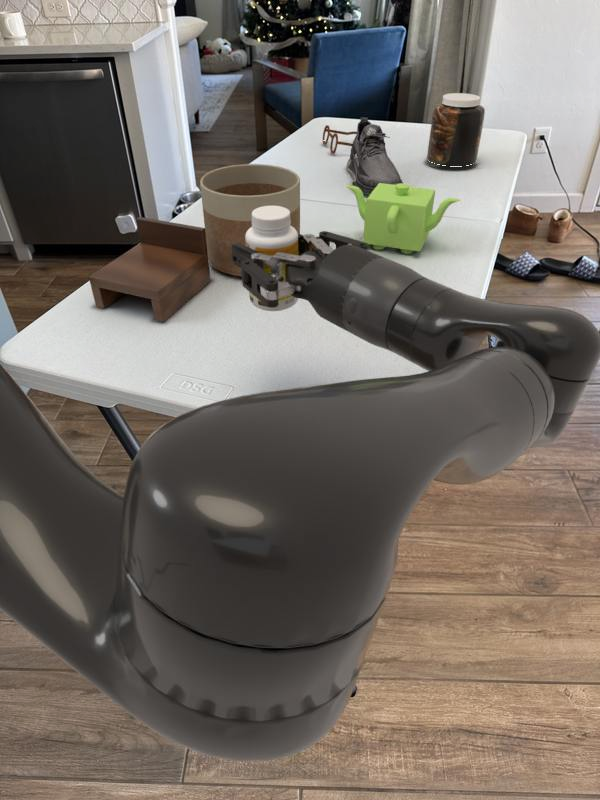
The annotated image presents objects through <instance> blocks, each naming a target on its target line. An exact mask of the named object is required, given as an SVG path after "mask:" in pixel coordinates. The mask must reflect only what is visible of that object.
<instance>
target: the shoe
mask: <svg viewBox="0 0 600 800" xmlns="http://www.w3.org/2000/svg"><path fill="white" fill-rule="evenodd" d="M356 132H357V134H355V137H354V139H353V141H352V144H353V145H352V146H351V148H350V155H349V159H348V161H347V163H346V169H347V170H348V172H349V173H350V174H351V176H352V186H356V187H358V188H360V189H361V191H362V192H363V195H370V194H371V193H372V191H373V190H374V189H375V188H376V186H377V185H378V184H379V183H384V184H392V185H396V184H399V183H404V182H403V180H402V178H401V176H400V175H401V174H400V173H399V171H398V170H397V168H396V166H395V165H394V162H393V161H392V159H390V157H389V156H388V153H387V149H386V141H385V138H388V139H390V138H391V137H390V136H387V133H385V132H383V129H382V127H381V126H380V125H378V124H374V123H372V122H371V121H369V117H360V120H359V122H358V123H357V128H356Z"/></svg>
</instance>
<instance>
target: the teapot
mask: <svg viewBox="0 0 600 800" xmlns="http://www.w3.org/2000/svg"><path fill="white" fill-rule="evenodd" d="M345 187H346V188H347V189H349V190H350V191H352V194H354V196H355V199H356V204H357V208H358V213H359V216H360V217H361V219H362V220H363V221H364V222H363V223H364V224H363V234H362V235H363V237H362V242H365V243H367V244H368V245H372V248H373V249H374V250H379V251H380V250H385V248H393V249H400V253H402V254H405V255H410V254H412V253H413V252H421V251H422V248H423V246H424V245H425V242H426V240H427V238H428V236H429V235H430V232H431V231H433V230H435V228H436V227H437V226H438V225H439V224H440V222H441V221H442V219H443V217H444V215H445V212H446V211H447V209H448V208H449V206H451V205H453V204H454V203H457V202H460V201H461V199H460V198H455V197H450V198H445V199H443V200H442V202H440V204H439V206H438V208H437V210H436V211H435V212H434V213H433V209H434V202H435V197H436V196H435V195H436V189H433V188H425V187H417V186H410V185H409V184H408V183H404V182H403V183H399V184H396V185H392V184H384V183H379V184H378V185H377V186H376V188H375V189H374V190H373V191H372V193H371V194H368V197H367V198H366V197H365V194H363V192H362V191H361V189H360V188H358V187H356V186H353V185H346V186H345ZM365 198H366V199H365Z"/></svg>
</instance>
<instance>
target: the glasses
mask: <svg viewBox="0 0 600 800" xmlns="http://www.w3.org/2000/svg"><path fill="white" fill-rule="evenodd" d="M326 133H327V136H326ZM338 134H339V135H344V136H345V135H346V136H349V135H357V131H341V130H336V129H331V128H330V125H327V124H326V125H325V126H324V128H323V132H322V144H323V145H324V146H325V145H327V144H328V142H329V139H330V138H331V140H330V145H329V149H330V153H331V154H333V155H334V154H335V153H336V151H337V150H338V149H337V148H338V145H342V146H347V147H352V145H353V142H350V143H349V142H345V141H339V135H338ZM325 136H326V137H325ZM325 138H326V139H325ZM323 140H325V141H323ZM334 140H335V145H334V148H333V144H334ZM332 149H333V150H332Z"/></svg>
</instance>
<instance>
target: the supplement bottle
mask: <svg viewBox="0 0 600 800" xmlns="http://www.w3.org/2000/svg"><path fill="white" fill-rule="evenodd" d="M290 223H291V220H290V211H289V210H288V209H287V208H284V207H281V206H263V207H259V208H256V209H255V210H253V212H252V227H251V228H250V229H249V230H248V231H247V232H246V235H245V241H246V246H247V247H249V248H251V249H253V250H256V251H258V252H259V253H262V254H267V255H272V256H274V255H275V254H276V253H277V252H281V253H287V254H292V255H298V233H297V231H296V229H295V228H294V227H292V226H291V225H290ZM263 266H264V270H265V271H266V272H268V273H271V267H270V265H267V264H263ZM285 266H286V264H284V263H282V267H283V278H284V279H285V280H286V278H285ZM248 295H249V297H248V298H249V301H250V303H251V305H253V306H254V307H255V308H256V309H260V310H262V311H267V312H280V311H285V310H287V309H289V308H292V307H293V306H295V305H296V304H297V302H298V300H299V298H295V297H293V296H291V295H287V296H284V297H281V298H278V299H279V305H278V306H277V307H274V308H270V307H267V306H266V305H265V304H264V303H262V302H261V301H260V300H259V299H258V298H256V297H255V296H254V295H253V294H252V293H250V292H249V291H248Z"/></svg>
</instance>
